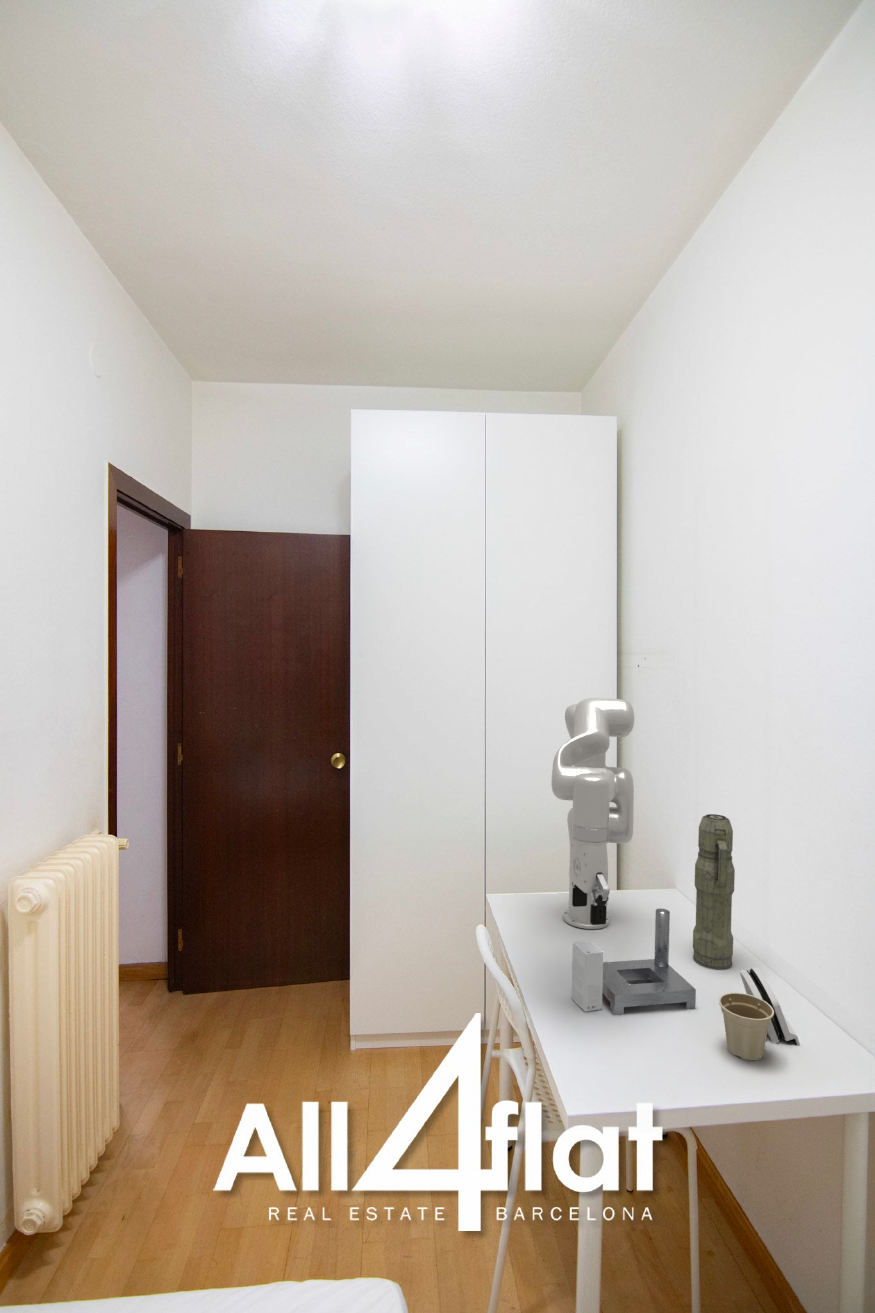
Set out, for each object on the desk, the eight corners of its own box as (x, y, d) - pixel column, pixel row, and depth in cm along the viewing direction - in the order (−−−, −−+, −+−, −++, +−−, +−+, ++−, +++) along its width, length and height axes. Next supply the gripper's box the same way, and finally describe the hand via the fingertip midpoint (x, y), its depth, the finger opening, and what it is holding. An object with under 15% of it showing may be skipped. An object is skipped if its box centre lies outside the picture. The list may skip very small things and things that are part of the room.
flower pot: (747, 1072, 119) (748, 1023, 119) (706, 1042, 127) (707, 997, 127) (784, 1059, 123) (785, 1013, 122) (742, 1032, 131) (743, 988, 131)
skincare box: (602, 1010, 138) (604, 952, 138) (584, 1012, 137) (585, 954, 137) (588, 995, 144) (589, 940, 144) (570, 997, 143) (571, 942, 143)
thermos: (705, 973, 155) (709, 823, 154) (684, 950, 167) (687, 810, 166) (742, 973, 155) (746, 823, 155) (718, 950, 167) (722, 810, 167)
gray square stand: (587, 981, 150) (589, 910, 150) (661, 975, 153) (663, 906, 153) (614, 1015, 136) (616, 937, 136) (695, 1008, 140) (697, 932, 139)
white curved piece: (801, 1046, 127) (783, 995, 127) (775, 1052, 128) (758, 1001, 128) (773, 1001, 143) (757, 955, 144) (750, 1006, 144) (735, 961, 144)
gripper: (558, 823, 148) (556, 900, 148) (589, 845, 131) (588, 932, 131) (590, 822, 149) (588, 899, 149) (625, 844, 132) (623, 930, 132)
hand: (588, 914), depth 140 cm, fingers open, 9 cm apart
